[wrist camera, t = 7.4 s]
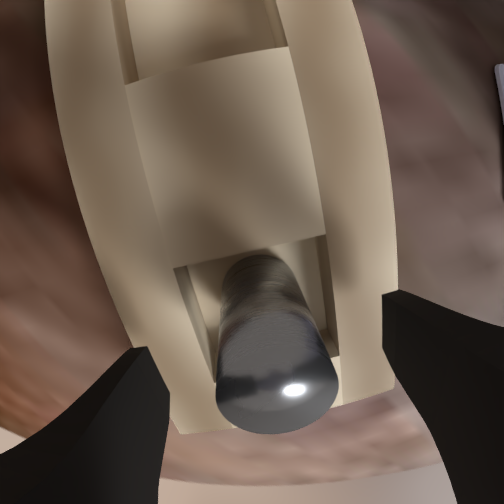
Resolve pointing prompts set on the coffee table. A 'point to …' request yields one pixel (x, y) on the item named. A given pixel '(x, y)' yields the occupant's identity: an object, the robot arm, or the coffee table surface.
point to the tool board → (228, 173)
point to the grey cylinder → (270, 351)
